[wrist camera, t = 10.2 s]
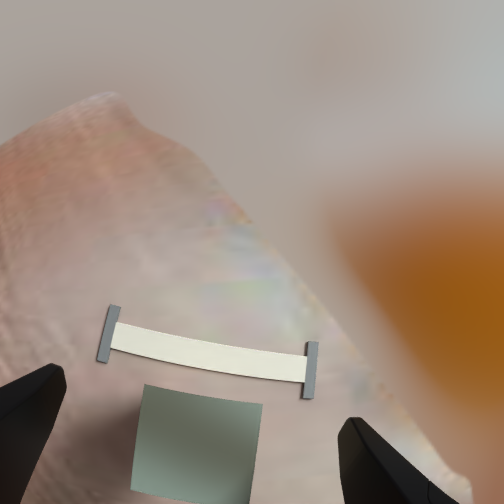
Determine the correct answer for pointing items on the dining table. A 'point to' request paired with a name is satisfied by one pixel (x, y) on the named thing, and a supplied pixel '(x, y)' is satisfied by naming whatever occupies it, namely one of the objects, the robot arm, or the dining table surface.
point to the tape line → (209, 354)
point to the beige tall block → (195, 447)
